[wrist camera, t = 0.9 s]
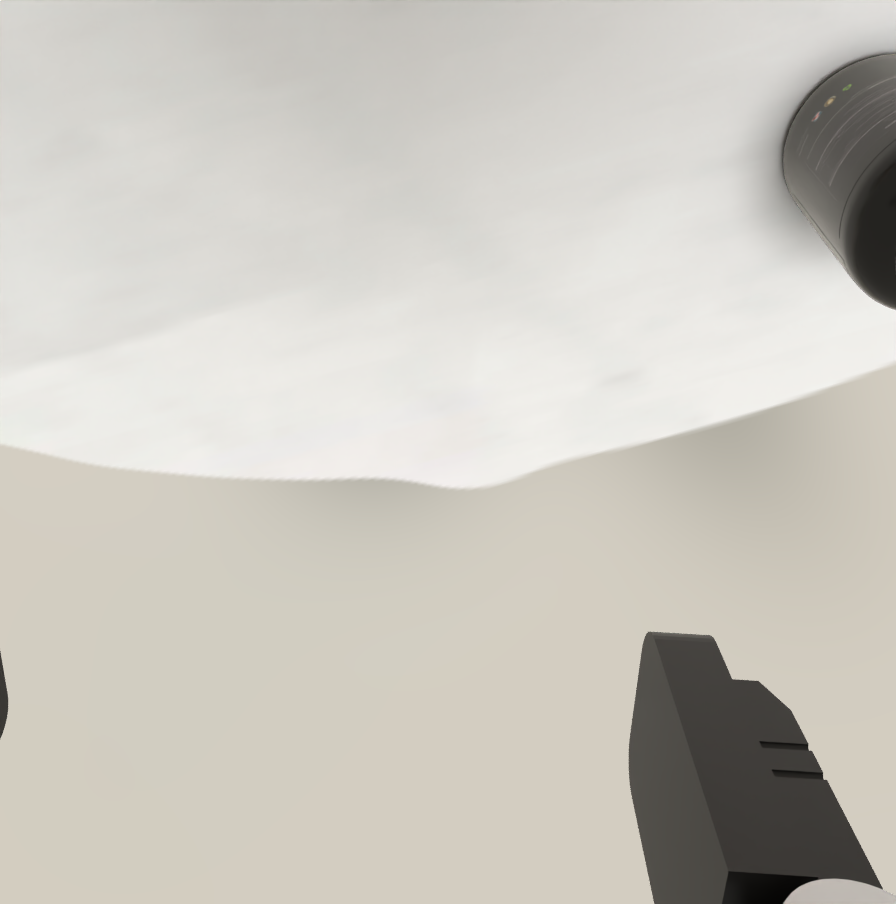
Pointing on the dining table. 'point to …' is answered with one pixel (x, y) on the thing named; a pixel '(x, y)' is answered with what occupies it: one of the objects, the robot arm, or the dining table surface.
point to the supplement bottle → (850, 171)
